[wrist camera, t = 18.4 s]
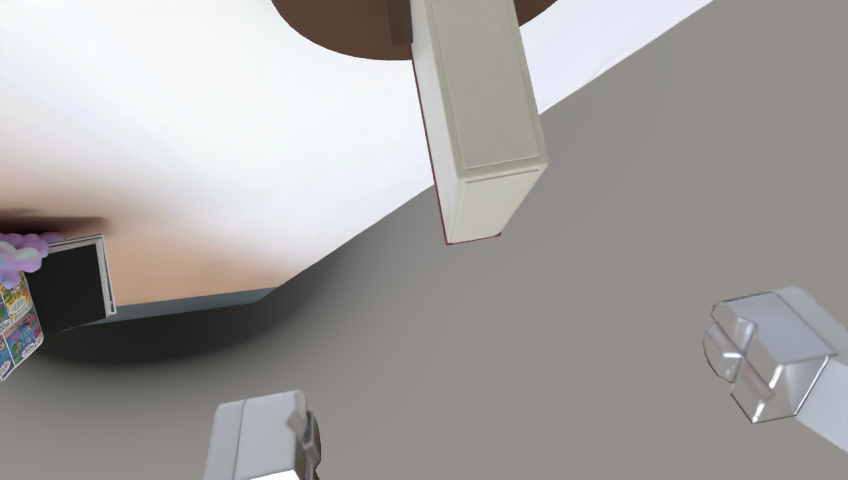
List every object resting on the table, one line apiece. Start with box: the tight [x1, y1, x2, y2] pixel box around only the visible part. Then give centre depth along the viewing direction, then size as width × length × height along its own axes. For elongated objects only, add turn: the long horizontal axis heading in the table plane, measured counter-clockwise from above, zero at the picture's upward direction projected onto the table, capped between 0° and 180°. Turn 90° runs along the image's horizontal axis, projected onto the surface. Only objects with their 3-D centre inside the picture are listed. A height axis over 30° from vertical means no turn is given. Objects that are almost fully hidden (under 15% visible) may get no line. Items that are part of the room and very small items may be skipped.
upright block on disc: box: [271, 0, 557, 245], centre depth 24 cm, size 16×16×13 cm
